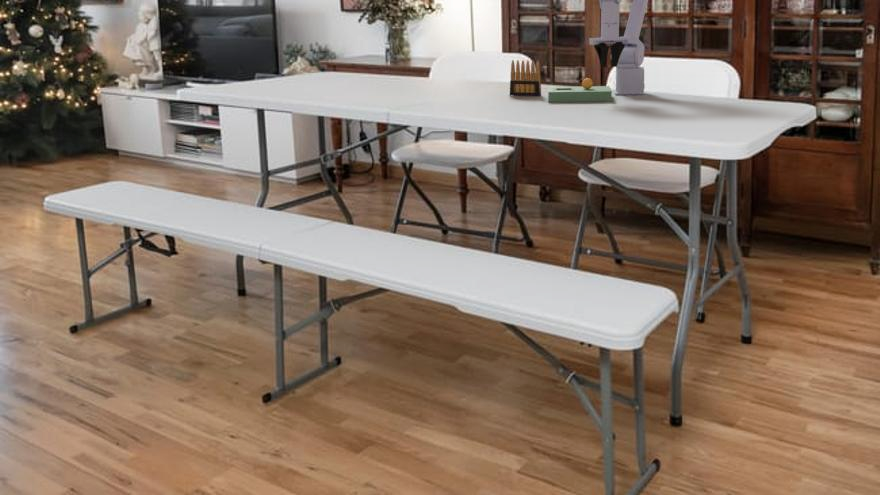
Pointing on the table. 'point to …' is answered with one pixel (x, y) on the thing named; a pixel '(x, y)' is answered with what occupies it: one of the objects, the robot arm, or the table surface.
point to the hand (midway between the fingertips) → (608, 66)
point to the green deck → (580, 94)
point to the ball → (587, 83)
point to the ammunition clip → (525, 80)
